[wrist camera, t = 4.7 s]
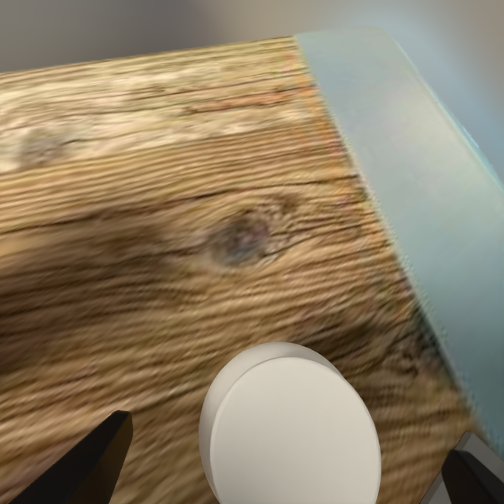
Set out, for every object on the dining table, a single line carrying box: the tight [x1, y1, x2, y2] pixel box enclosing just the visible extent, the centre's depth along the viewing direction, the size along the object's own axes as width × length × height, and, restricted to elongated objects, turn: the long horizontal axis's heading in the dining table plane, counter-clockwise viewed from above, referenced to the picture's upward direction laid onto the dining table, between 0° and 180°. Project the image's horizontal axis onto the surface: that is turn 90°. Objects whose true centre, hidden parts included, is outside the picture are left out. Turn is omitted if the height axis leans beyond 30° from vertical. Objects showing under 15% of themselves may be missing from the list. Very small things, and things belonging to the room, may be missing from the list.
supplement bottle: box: [198, 342, 381, 504], centre depth 11 cm, size 5×5×10 cm
